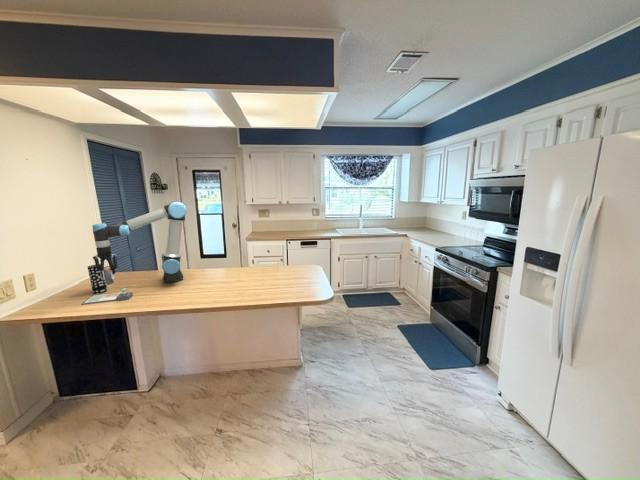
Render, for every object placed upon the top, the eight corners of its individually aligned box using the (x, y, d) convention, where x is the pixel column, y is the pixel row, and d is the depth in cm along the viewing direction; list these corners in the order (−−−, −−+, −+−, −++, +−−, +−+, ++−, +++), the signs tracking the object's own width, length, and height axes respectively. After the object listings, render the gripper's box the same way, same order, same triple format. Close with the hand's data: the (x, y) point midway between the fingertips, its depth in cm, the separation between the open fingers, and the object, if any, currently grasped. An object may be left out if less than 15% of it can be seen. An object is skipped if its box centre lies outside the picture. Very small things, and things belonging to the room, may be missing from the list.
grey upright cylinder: (114, 282, 189) (111, 265, 187) (112, 284, 185) (109, 267, 183) (108, 282, 188) (105, 266, 185) (105, 284, 184) (102, 268, 182)
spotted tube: (90, 294, 192) (84, 268, 188) (96, 290, 200) (91, 264, 196) (104, 293, 194) (98, 266, 190) (109, 288, 202) (104, 263, 198)
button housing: (132, 295, 188) (132, 291, 188) (128, 299, 182) (128, 295, 181) (121, 297, 187) (120, 293, 186) (117, 301, 180) (116, 297, 179)
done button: (128, 293, 186) (127, 287, 185) (126, 295, 182) (125, 289, 182) (122, 294, 185) (121, 288, 184) (120, 296, 182) (119, 290, 181)
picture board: (125, 292, 195) (125, 291, 195) (116, 300, 181) (116, 299, 181) (93, 296, 189) (92, 294, 189) (81, 305, 175) (81, 303, 175)
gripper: (120, 244, 187) (125, 275, 192) (91, 246, 182) (97, 278, 187) (115, 246, 180) (121, 279, 185) (85, 248, 175) (92, 282, 180)
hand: (109, 278), depth 186 cm, fingers closed on grey upright cylinder, 4 cm apart
